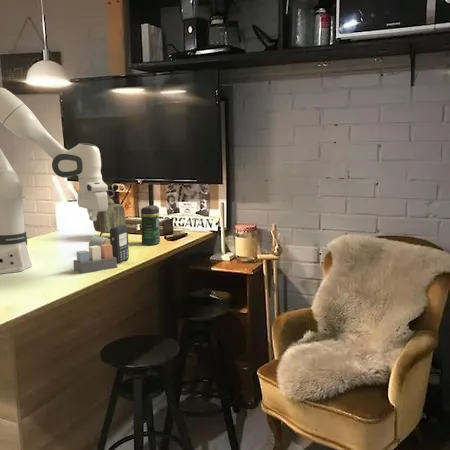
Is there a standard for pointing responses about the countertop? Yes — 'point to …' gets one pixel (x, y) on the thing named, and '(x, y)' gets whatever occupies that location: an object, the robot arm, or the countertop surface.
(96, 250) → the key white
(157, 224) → the coffee jar
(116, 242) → the card reader
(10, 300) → the countertop surface
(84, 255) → the key blue
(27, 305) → the countertop surface
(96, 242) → the ceramic mug
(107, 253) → the key rust
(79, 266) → the grey rectangular tray
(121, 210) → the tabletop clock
